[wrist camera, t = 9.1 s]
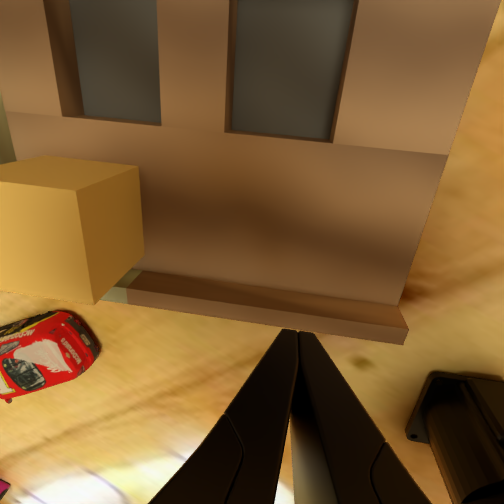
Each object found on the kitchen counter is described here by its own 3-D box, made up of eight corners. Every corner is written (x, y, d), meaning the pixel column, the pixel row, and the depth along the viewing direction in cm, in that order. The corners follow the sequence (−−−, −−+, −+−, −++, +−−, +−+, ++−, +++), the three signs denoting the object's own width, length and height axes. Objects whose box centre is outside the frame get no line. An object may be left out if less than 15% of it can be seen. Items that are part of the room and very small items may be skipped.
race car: (-3, 382, 29) (-47, 422, 25) (-45, 336, 27) (-98, 372, 23) (115, 356, 25) (84, 398, 22) (77, 300, 23) (36, 336, 20)
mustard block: (144, 255, 18) (93, 305, 14) (62, 243, 18) (-14, 288, 14) (138, 166, 16) (75, 190, 11) (45, 155, 16) (-51, 175, 12)
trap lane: (383, 300, 20) (404, 347, 16) (50, 254, 21) (-3, 286, 18) (488, -34, 13) (569, -92, 9) (-19, -60, 14) (-130, -117, 11)
